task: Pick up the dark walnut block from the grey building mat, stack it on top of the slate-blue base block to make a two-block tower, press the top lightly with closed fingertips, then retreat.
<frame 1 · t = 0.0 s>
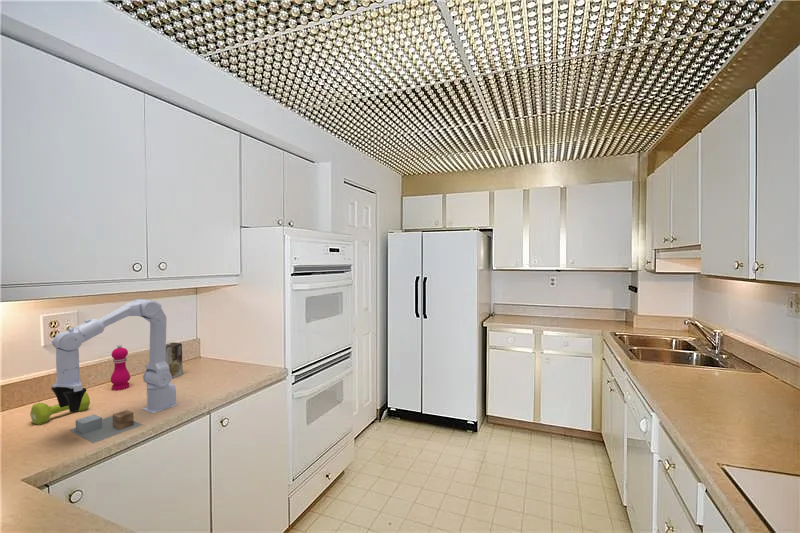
hand: (69, 408, 126), 10 cm above the worktop, tool pointing down, fingers open, 7 cm apart
dumbbell: (61, 417, 144), on the worktop
pepper mill: (120, 388, 173), on the worktop
building mat: (106, 428, 134), on the worktop
walnut block: (123, 425, 135), resting on building mat
coffee box: (170, 377, 188), on the worktop
base block: (89, 428, 133), resting on building mat
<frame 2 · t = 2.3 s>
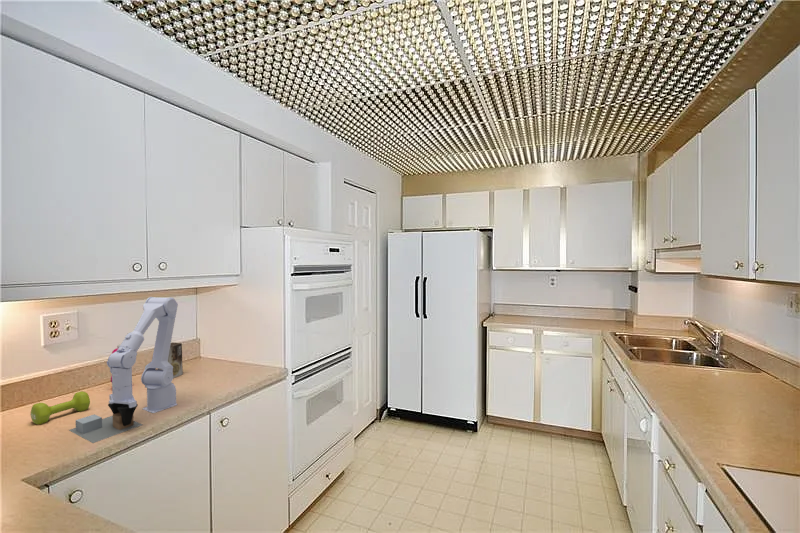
hand: (123, 423, 135), 1 cm above the worktop, tool pointing down, fingers closed on walnut block, 4 cm apart
walnut block: (123, 425, 135), resting on building mat, touching gripper
everything else where it was.
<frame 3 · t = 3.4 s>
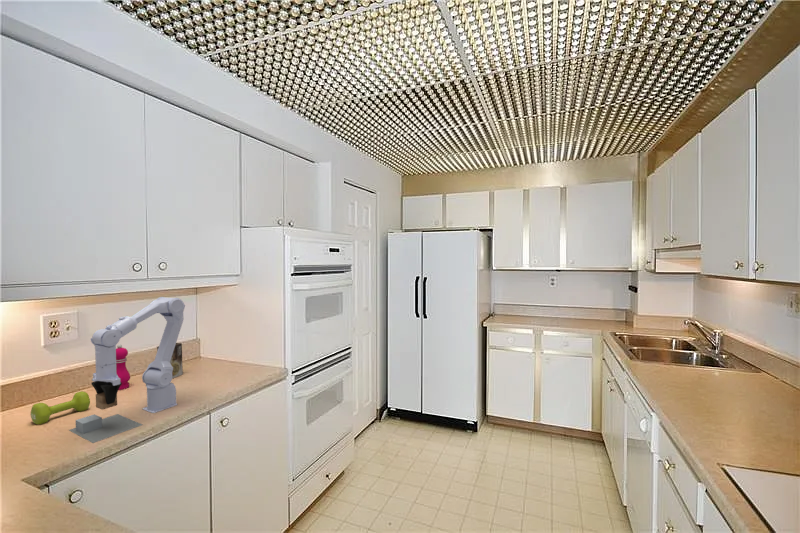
hand: (106, 401, 133), 9 cm above the worktop, tool pointing down, fingers closed on walnut block, 4 cm apart
walnut block: (106, 406, 133), point 8 cm above the worktop, touching gripper
everything else where it was.
when the fingers open (6 cm above the worktop, at t = 4.8 s): walnut block stays where it is, resting on base block.
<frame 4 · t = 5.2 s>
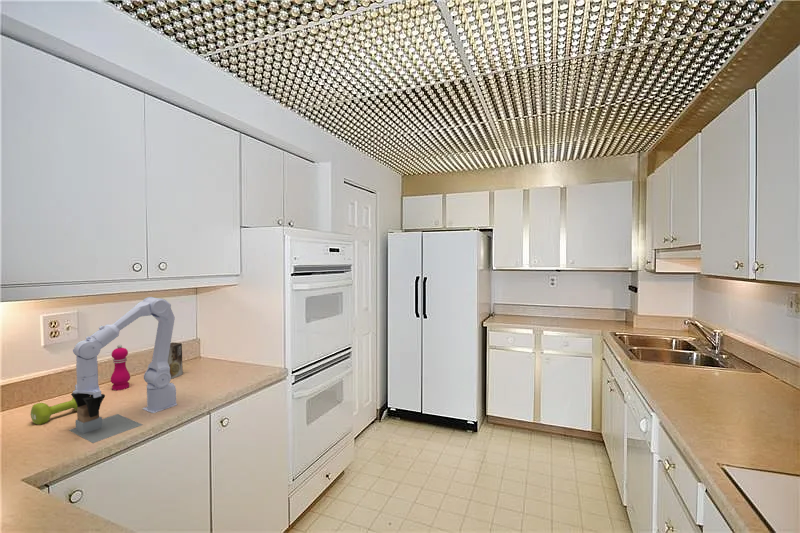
hand: (88, 413, 132), 6 cm above the worktop, tool pointing down, fingers open, 7 cm apart
walnut block: (88, 418, 132), point 4 cm above the worktop, touching base block
base block: (89, 428, 133), resting on building mat, touching walnut block
everything else where it was.
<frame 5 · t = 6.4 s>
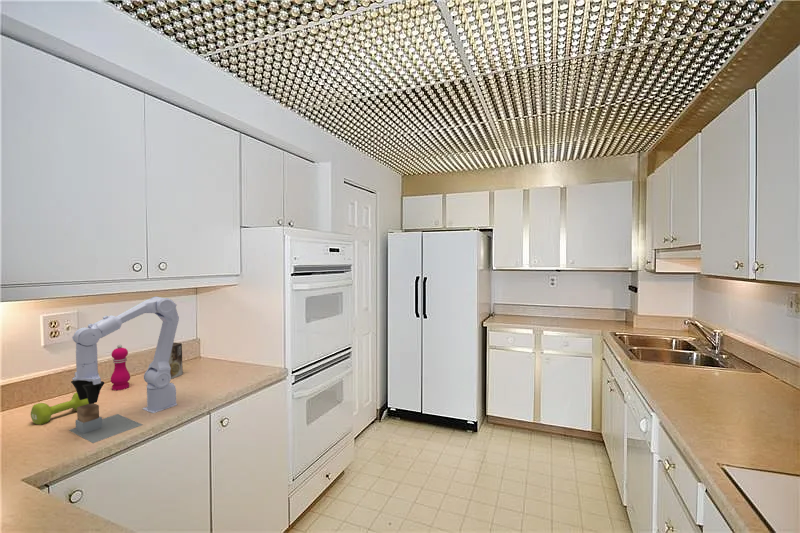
hand: (88, 401, 132), 10 cm above the worktop, tool pointing down, fingers open, 6 cm apart
nothing on the worktop moved.
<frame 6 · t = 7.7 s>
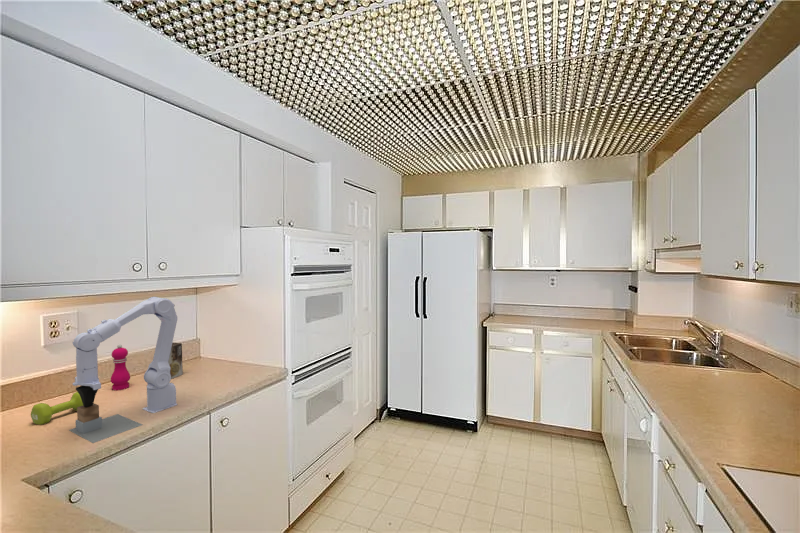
hand: (88, 406, 132), 8 cm above the worktop, tool pointing down, fingers closed
nothing on the worktop moved.
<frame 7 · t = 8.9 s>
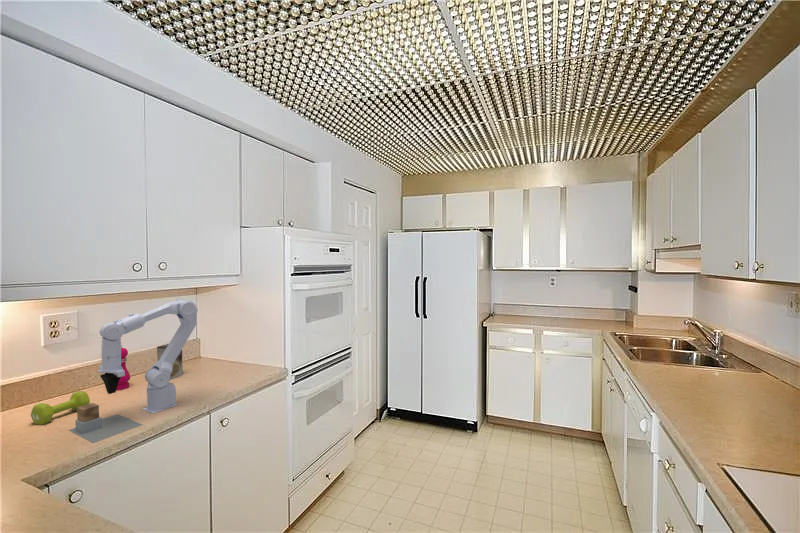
hand: (111, 392, 139), 10 cm above the worktop, tool pointing down, fingers closed
nothing on the worktop moved.
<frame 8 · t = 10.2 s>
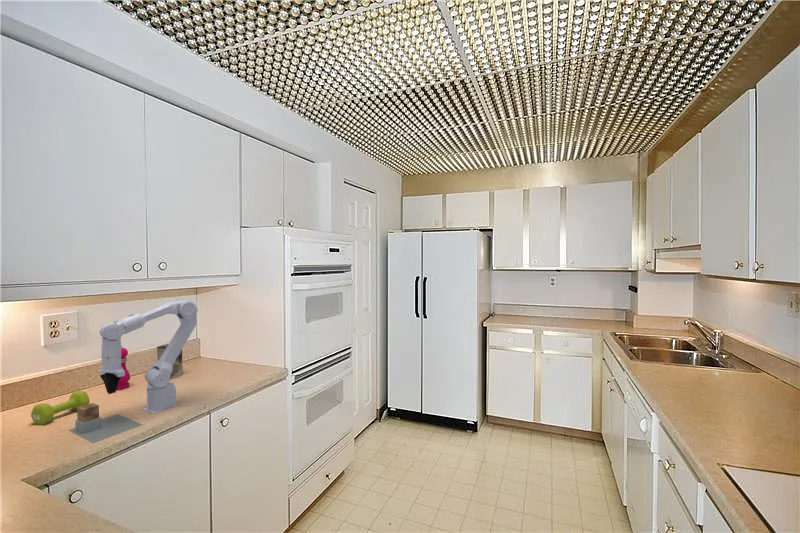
hand: (111, 392, 139), 10 cm above the worktop, tool pointing down, fingers closed
nothing on the worktop moved.
at the end: walnut block 0.1 cm off-centre on the base block, point 3.5 cm above the base block's base; walnut block tilted 0°; the gripper is holding nothing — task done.
